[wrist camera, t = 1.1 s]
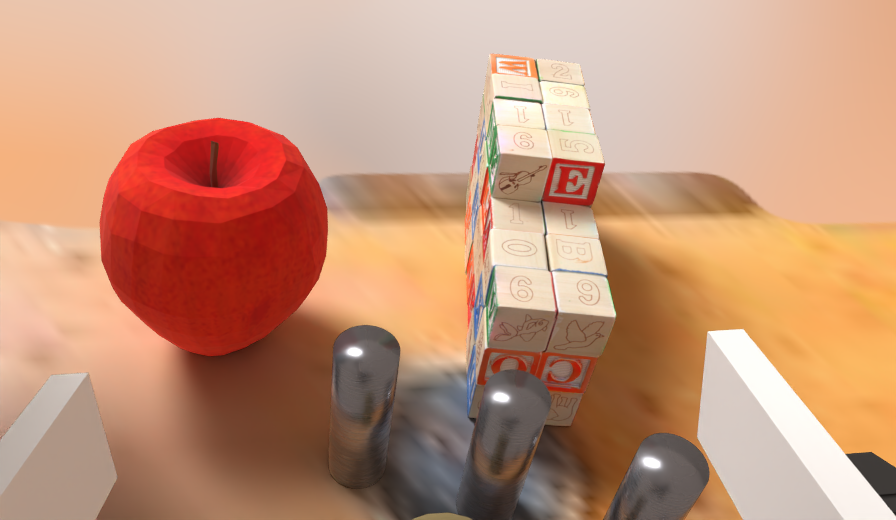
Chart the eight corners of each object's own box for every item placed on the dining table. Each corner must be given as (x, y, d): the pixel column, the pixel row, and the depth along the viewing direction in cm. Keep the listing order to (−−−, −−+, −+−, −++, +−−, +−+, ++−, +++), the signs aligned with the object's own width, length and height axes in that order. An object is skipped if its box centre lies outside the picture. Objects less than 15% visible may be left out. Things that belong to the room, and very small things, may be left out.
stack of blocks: (573, 431, 44) (635, 274, 36) (465, 421, 44) (503, 260, 36) (543, 204, 60) (581, 60, 52) (464, 195, 60) (489, 48, 52)
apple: (257, 443, 41) (244, 254, 32) (73, 362, 43) (15, 166, 34) (358, 303, 49) (370, 124, 40) (200, 242, 52) (180, 61, 43)
